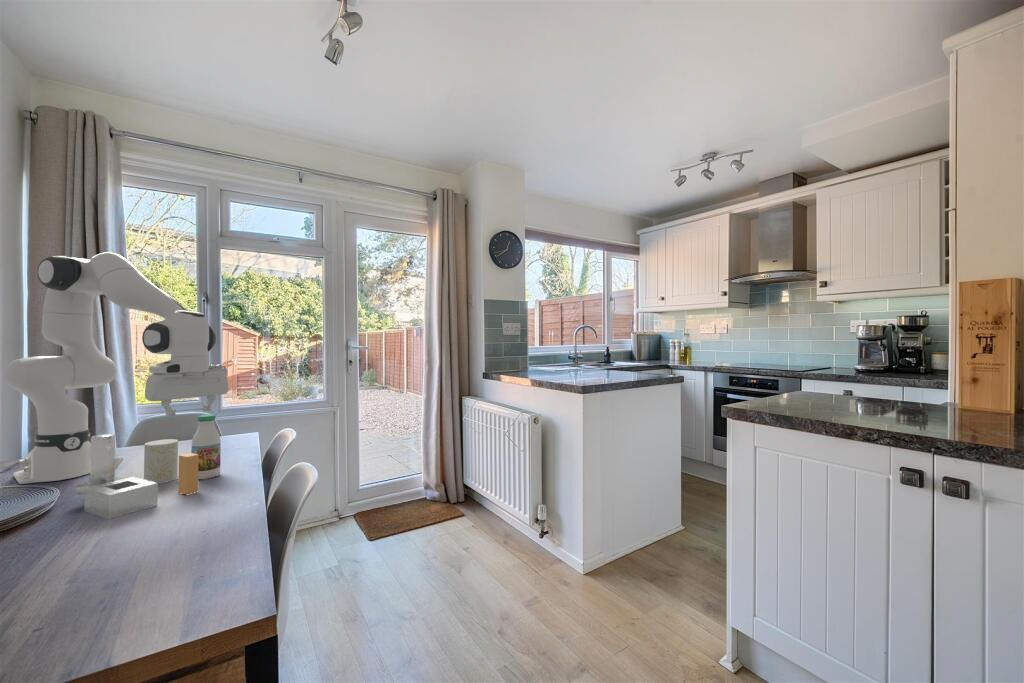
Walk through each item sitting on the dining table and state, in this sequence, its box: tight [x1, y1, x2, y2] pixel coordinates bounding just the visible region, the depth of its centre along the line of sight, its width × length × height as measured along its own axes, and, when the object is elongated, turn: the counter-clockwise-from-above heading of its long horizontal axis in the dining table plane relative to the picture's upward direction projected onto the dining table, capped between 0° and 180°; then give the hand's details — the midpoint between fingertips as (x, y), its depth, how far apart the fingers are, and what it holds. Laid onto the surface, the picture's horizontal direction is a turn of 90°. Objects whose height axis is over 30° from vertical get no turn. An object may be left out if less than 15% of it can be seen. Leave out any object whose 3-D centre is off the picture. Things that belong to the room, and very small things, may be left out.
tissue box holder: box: [75, 433, 159, 520], centre depth 110 cm, size 21×10×18 cm, turn 66°
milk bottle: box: [190, 414, 222, 480], centre depth 134 cm, size 8×8×20 cm
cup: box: [143, 438, 179, 484], centre depth 130 cm, size 8×8×12 cm
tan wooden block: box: [177, 452, 199, 496], centre depth 120 cm, size 4×3×11 cm
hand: (189, 413), depth 120 cm, fingers open, 8 cm apart
